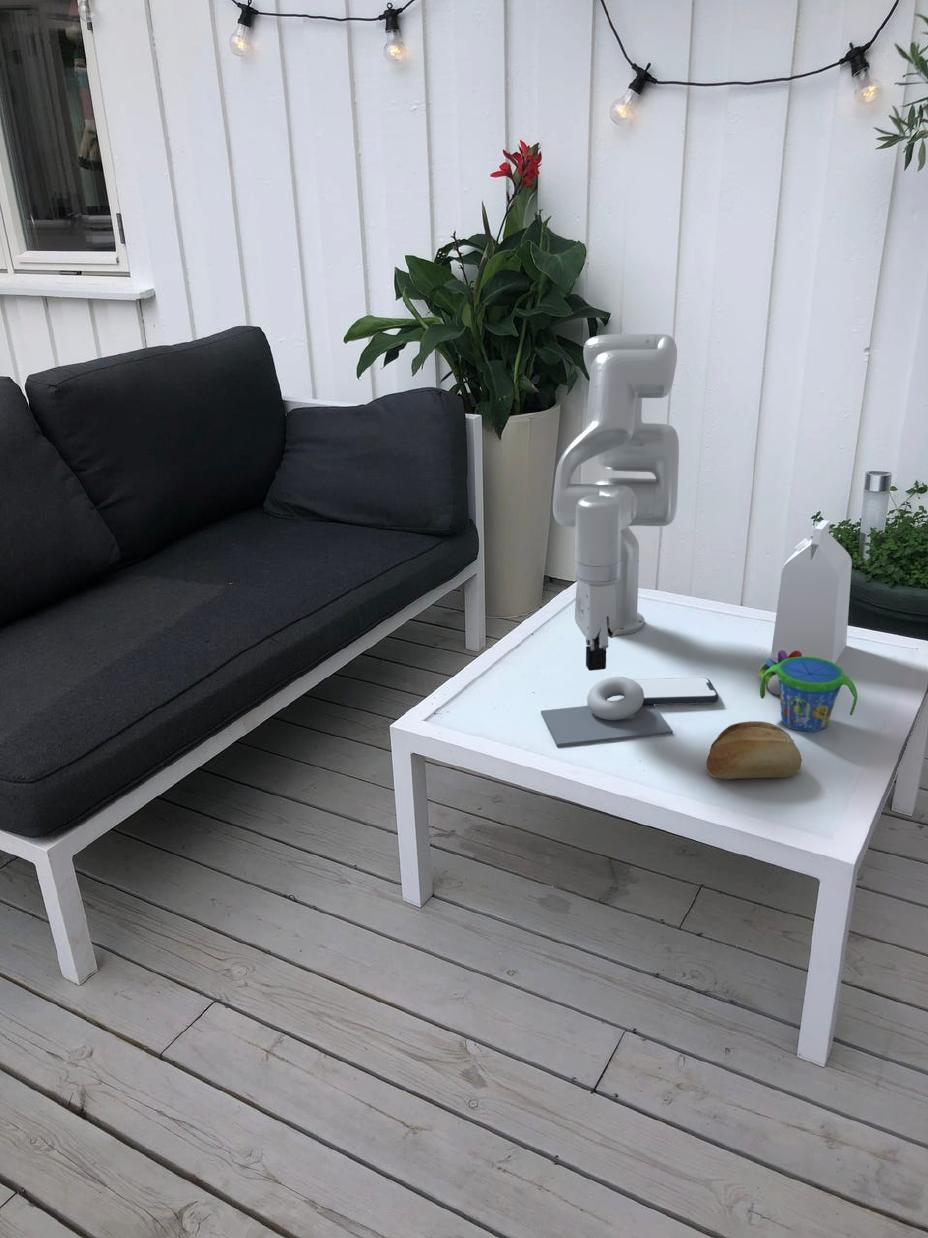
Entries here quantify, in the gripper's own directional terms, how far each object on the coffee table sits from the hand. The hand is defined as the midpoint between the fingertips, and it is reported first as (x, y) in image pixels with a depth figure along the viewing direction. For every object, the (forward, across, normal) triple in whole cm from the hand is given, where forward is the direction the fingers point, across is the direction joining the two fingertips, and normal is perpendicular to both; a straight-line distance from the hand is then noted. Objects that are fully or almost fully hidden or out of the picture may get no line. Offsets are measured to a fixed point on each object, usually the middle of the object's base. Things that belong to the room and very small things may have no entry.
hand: (595, 667), depth 177 cm
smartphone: (+8, -1, +14) cm, 16 cm away
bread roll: (+8, +26, +18) cm, 33 cm away
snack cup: (+8, +13, +33) cm, 36 cm away
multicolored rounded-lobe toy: (+8, 0, +36) cm, 37 cm away
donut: (+5, -1, 0) cm, 5 cm away
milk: (+8, -14, +47) cm, 50 cm away
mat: (+8, +6, 0) cm, 10 cm away
